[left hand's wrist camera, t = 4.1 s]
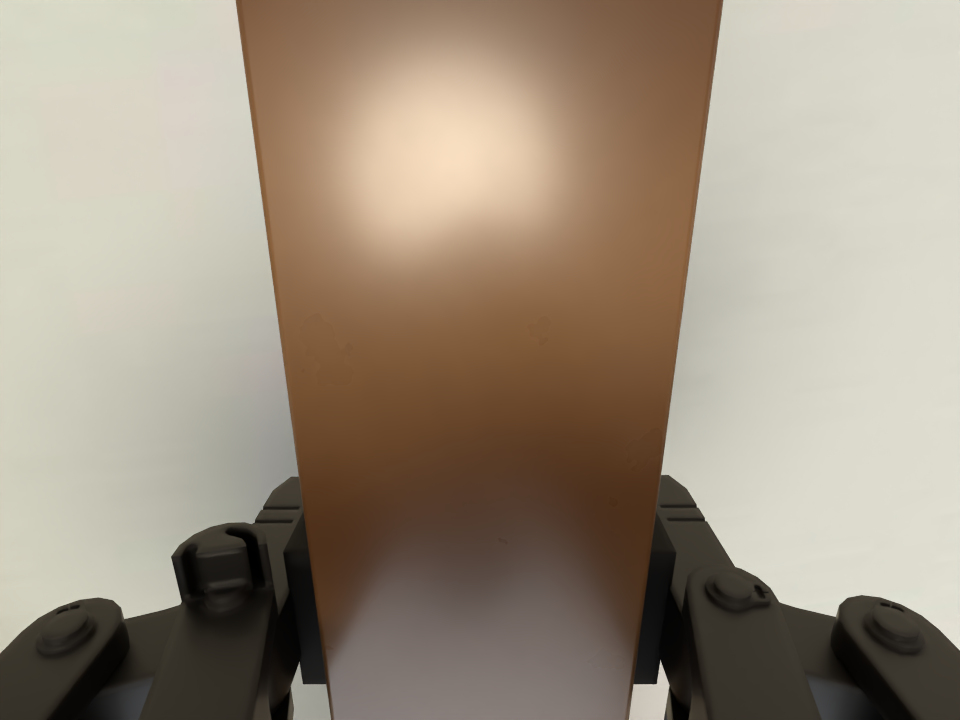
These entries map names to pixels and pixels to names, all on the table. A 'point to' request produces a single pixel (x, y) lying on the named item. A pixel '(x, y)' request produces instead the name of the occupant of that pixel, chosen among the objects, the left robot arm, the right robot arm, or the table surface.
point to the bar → (479, 330)
